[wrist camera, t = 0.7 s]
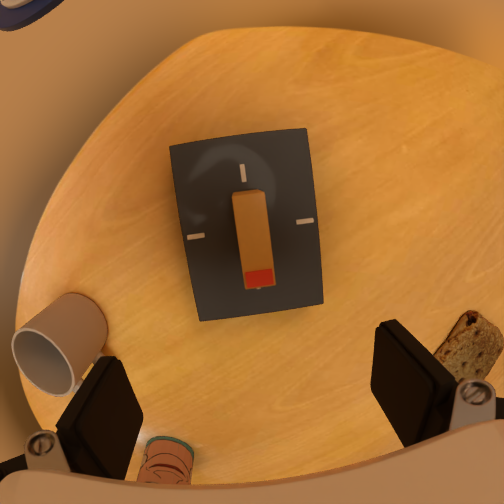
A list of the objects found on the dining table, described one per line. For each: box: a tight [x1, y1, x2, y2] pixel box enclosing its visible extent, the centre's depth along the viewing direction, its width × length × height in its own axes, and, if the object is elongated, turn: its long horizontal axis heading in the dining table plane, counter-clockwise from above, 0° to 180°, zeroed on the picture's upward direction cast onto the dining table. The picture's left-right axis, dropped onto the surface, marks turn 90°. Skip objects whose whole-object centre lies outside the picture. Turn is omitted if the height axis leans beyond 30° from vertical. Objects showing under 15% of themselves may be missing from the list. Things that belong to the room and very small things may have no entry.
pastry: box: [433, 311, 504, 384], centre depth 31 cm, size 17×17×3 cm
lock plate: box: [169, 128, 324, 322], centre depth 25 cm, size 15×11×3 cm
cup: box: [12, 293, 108, 397], centre depth 24 cm, size 7×10×9 cm
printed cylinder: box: [137, 436, 194, 485], centre depth 26 cm, size 7×7×15 cm
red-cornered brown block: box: [232, 189, 276, 290], centre depth 21 cm, size 6×2×6 cm, turn 7°
